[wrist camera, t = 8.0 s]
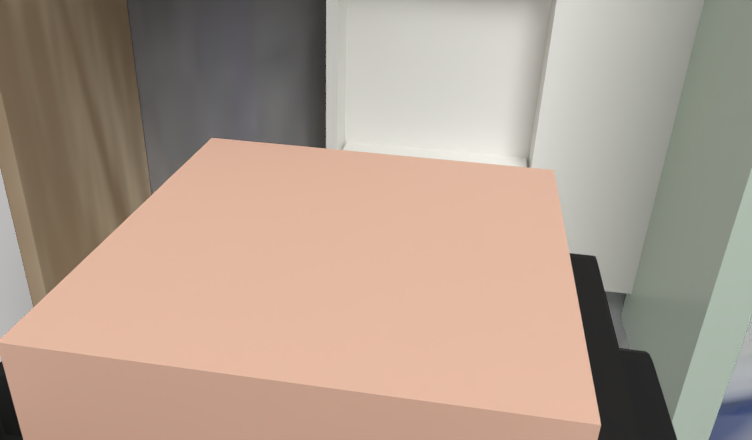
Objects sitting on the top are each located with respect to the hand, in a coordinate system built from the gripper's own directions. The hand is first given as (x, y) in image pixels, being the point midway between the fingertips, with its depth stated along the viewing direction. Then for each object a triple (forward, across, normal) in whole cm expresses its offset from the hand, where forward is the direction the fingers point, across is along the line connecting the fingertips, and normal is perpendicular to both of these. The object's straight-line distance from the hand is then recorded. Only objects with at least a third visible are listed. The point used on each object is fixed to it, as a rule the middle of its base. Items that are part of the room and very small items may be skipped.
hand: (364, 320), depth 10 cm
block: (+1, 0, 0) cm, 1 cm away
